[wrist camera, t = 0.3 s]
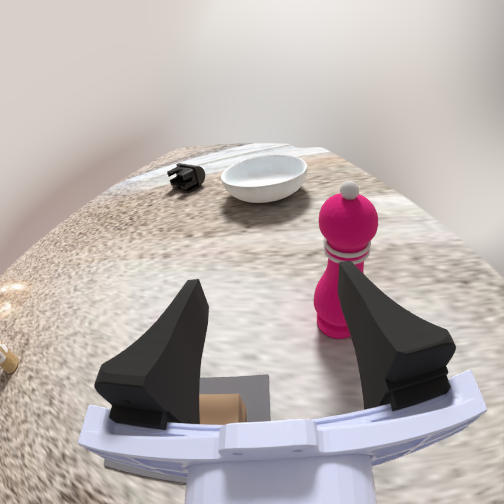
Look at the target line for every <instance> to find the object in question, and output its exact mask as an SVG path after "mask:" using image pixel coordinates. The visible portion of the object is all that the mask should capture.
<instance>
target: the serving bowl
mask: <svg viewBox="0 0 504 504" xmlns="http://www.w3.org/2000/svg"><path fill="white" fill-rule="evenodd" d="M306 174H307V164H306V162H305V161H303V160H302V159H300V158H298V157H294V156H289V155H264V156H258V157H253V158H249V159H246V160H243V161H240V162H238V163H235V164H233V165H232V166H230V167H228V168H227V169H226V170H225V171H224V172H223V173H222V175H221V180H222V183H223V185H224V187H225V189H226V190H227V191H228V192H229V193H230V194H231V195H232V196H233V197H235V198H237V199H239V200H242V201H246V202H252V203H265V202H272V201H277V200H280V199H283V198H286V197H288V196H290V195H291V194H293V193H295V192H296V191H297V190H298V189H299V188H300V187H301V186H302V184H303V183H304V181H305V178H306Z"/></svg>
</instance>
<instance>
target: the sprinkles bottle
mask: <svg viewBox="0 0 504 504" xmlns="http://www.w3.org/2000/svg"><path fill="white" fill-rule="evenodd" d="M17 365H18V358H17V356H16V355H14V354H13V353H12V352H11V351H10V350H9V349H8V348H7V347H6V346H5V345H4V344H3V343H2V342H1V341H0V366H1V367H2V368H3V369H4V370H5V371H6V373H8V374H11V373H13V372H14V371H15V369H16V368H17Z"/></svg>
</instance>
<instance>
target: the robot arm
mask: <svg viewBox="0 0 504 504" xmlns="http://www.w3.org/2000/svg"><path fill="white" fill-rule="evenodd" d="M338 296H339V301H340V305H341V309H342V312H343V315H344V318H345V321H346V323H347V326H348V329H349V332H350V335H351V338H352V341H353V344H354V347H355V351H356V356H357V361H358V366H359V372H360V378H361V385H362V392H363V400H364V410H362V411H357V412H352V413H347V414H342V415H336V416H330V417H324V418H317V419H310V420H307V419H290V420H279V421H265V422H243V423H230V424H226V425H201V424H200V412H199V388H200V367H201V358H202V353H203V348H204V342H205V337H206V331H207V326H208V314H209V306H208V303H207V300H206V298H205V295H204V292H203V289H202V287H201V284H200V281H199V279H195V280H188V281H187V282H186V283H185V285H184V286H183V287H182V289H181V290H180V292H179V293H178V294H177V296H176V297H175V298H174V300H173V301H172V302H171V304H170V305H169V306H168V308H167V309H166V310H165V311H164V313H163V314H162V315H161V316H160V318H159V319H158V320H157V321H156V322H155V323H154V324H153V325H152V326H151V327H150V328H149V329H148V330H147V331H146V332H145V333H144V334H143V335H142V336H141V337H140V338H139V339H138V340H136V341H135V342H134V343H133V344H132V345H131V346H129V347H128V348H127V349H125V350H124V351H122V352H121V353H120V354H118V355H117V356H115V357H113V358H112V359H110V360H109V361H107V362H105V363H103V364H102V365H101V367H100V370H99V373H98V376H97V378H96V381H95V384H94V387H95V389H96V391H97V392H98V393H99V394H100V395H101V396H102V397H103V398H104V399H106V400H107V401H108V402H109V403H110V404H111V405H112V408H111V410H109V409H107V408H104V407H99V406H94V405H89V407H88V410H87V413H86V416H85V420H84V423H83V426H82V430H81V434H80V437H79V441H78V444H79V445H80V446H82V447H84V448H86V449H87V450H89V451H91V452H93V453H95V454H97V455H99V456H101V457H103V458H105V459H107V460H111V461H114V462H118V463H121V464H125V465H129V466H133V467H137V468H140V469H145V470H149V471H153V472H158V473H162V474H167V475H173V476H178V477H184V478H187V482H186V493H185V504H377V501H376V493H375V486H374V478H373V472H372V466H375V465H378V464H382V463H385V462H388V461H391V460H394V459H397V458H399V457H402V456H405V455H408V454H410V453H413V452H415V451H418V450H420V449H423V448H425V447H427V446H430V445H432V444H434V443H437V442H439V441H441V440H443V439H446V438H448V437H450V436H452V435H454V434H456V433H458V432H460V431H462V430H464V429H465V428H467V427H468V426H469V425H471V424H472V423H473V422H474V421H475V420H477V419H478V418H479V417H480V416H482V415H483V414H484V413H485V412H486V411H487V408H486V405H485V402H484V400H483V397H482V395H481V392H480V390H479V387H478V385H477V382H476V380H475V377H474V375H473V373H472V371H471V370H467V371H465V372H463V373H460V374H458V375H455V376H453V377H452V378H450V379H449V380H448V378H447V374H448V369H447V367H446V365H447V364H448V362H449V361H450V359H451V358H452V356H453V354H454V352H455V350H456V346H455V344H454V341H453V339H452V337H451V335H450V334H449V332H448V330H446V329H444V328H441V327H439V326H436V325H434V324H431V323H429V322H427V321H425V320H423V319H421V318H419V317H418V316H416V315H414V314H412V313H411V312H409V311H407V310H406V309H404V308H403V307H401V306H400V305H398V304H397V303H396V302H394V301H393V300H392V299H390V298H389V297H388V296H387V295H385V294H384V293H383V292H382V291H381V290H380V289H379V288H377V287H376V286H375V285H374V284H373V283H372V282H371V281H370V280H369V279H368V278H367V277H366V276H365V275H364V274H363V273H362V272H361V271H360V270H359V269H358V268H357V267H356V266H355V265H354V263H353V262H351V261H344V262H339V274H338Z"/></svg>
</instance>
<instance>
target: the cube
mask: <svg viewBox="0 0 504 504" xmlns="http://www.w3.org/2000/svg"><path fill="white" fill-rule="evenodd" d="M199 412H200V424H201V425H226V424H230V423H243V422H247V408H246V406H245V404H244V402H243V400H242V399H241V397H240V395H239V394H199Z"/></svg>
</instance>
